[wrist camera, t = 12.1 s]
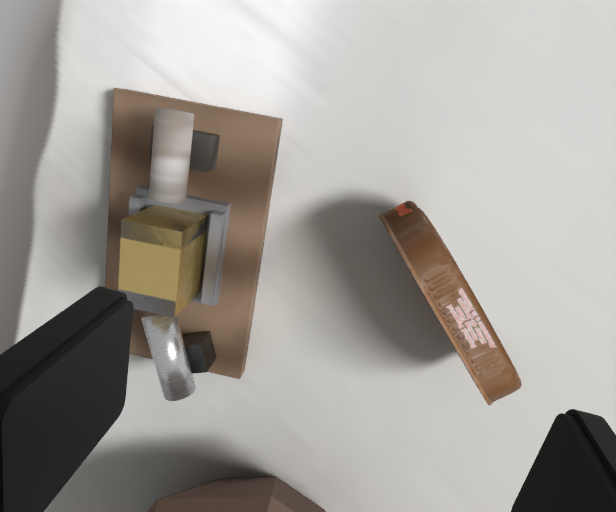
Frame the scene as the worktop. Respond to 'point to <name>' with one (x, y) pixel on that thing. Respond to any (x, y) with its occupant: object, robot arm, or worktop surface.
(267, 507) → the brown cooking pot
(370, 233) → the worktop surface
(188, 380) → the shaft
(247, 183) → the rig
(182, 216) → the coupler
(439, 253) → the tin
